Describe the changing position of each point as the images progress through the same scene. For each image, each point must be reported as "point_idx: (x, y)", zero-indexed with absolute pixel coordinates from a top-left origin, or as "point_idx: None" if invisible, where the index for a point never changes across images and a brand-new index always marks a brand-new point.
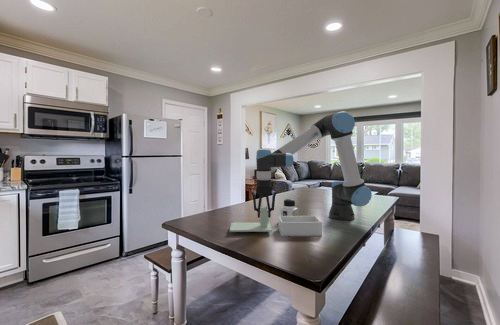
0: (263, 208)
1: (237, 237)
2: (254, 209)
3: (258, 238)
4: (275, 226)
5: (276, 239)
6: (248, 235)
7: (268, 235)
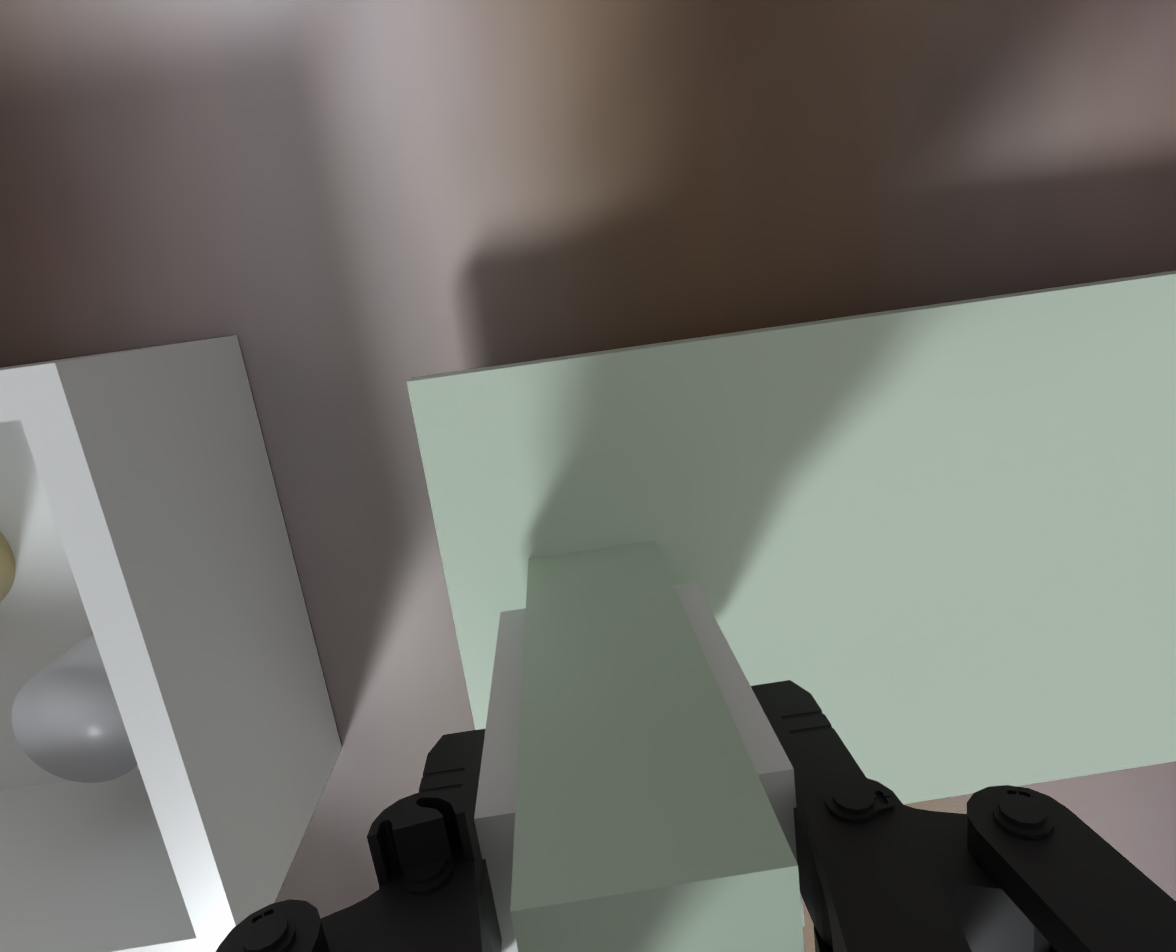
0: (682, 865)
1: (1068, 177)
2: (1058, 815)
3: (665, 168)
4: None
5: (305, 152)
6: None
7: None
